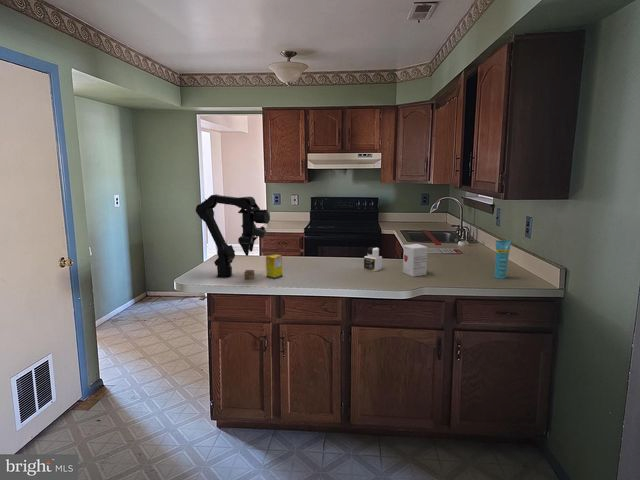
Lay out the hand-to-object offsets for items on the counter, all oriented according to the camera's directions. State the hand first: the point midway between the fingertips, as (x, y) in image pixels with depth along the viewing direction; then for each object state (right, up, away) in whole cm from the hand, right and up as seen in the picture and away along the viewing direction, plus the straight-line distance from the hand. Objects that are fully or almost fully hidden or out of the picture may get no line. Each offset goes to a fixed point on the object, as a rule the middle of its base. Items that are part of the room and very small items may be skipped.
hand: (249, 253), depth 204 cm
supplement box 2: (+84, -11, +10) cm, 86 cm away
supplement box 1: (+12, -12, +6) cm, 18 cm away
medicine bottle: (+64, -9, +19) cm, 67 cm away
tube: (+126, -12, +2) cm, 127 cm away
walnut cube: (0, -13, +2) cm, 13 cm away
